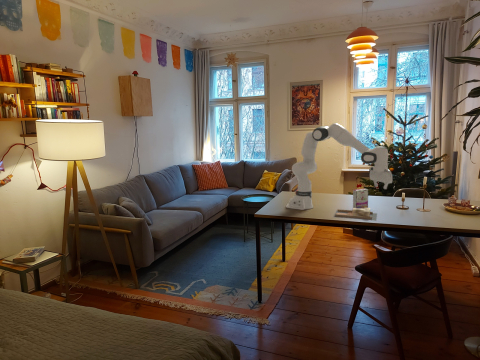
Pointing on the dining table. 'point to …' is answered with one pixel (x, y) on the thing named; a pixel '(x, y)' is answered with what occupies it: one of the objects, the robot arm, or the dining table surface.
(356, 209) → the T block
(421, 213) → the dining table surface
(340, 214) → the mat
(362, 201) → the candy bar box
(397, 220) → the dining table surface
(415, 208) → the dining table surface
